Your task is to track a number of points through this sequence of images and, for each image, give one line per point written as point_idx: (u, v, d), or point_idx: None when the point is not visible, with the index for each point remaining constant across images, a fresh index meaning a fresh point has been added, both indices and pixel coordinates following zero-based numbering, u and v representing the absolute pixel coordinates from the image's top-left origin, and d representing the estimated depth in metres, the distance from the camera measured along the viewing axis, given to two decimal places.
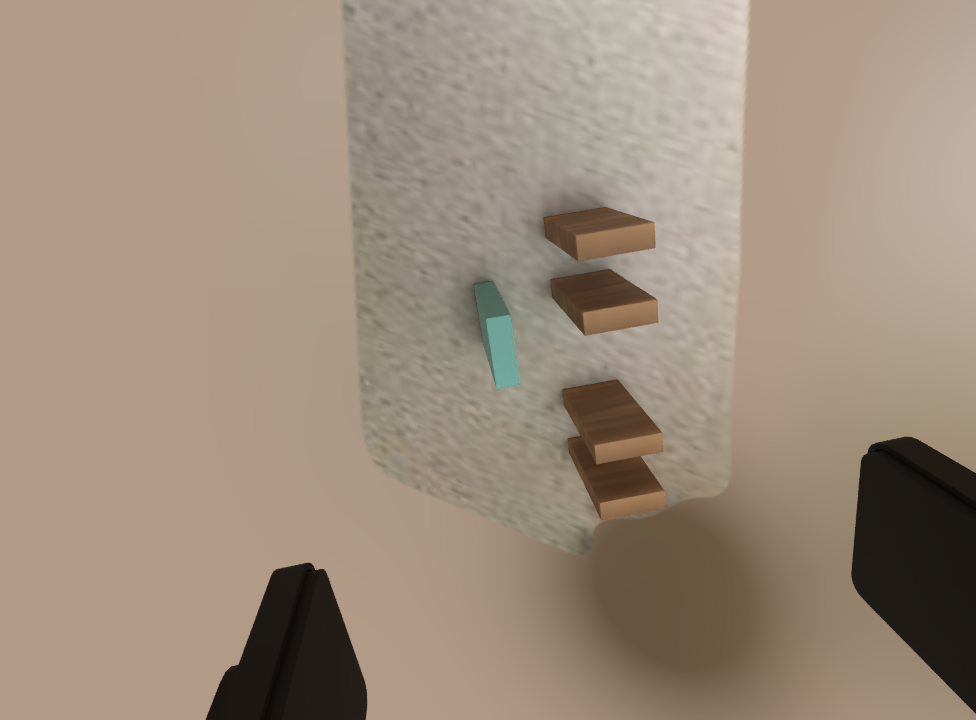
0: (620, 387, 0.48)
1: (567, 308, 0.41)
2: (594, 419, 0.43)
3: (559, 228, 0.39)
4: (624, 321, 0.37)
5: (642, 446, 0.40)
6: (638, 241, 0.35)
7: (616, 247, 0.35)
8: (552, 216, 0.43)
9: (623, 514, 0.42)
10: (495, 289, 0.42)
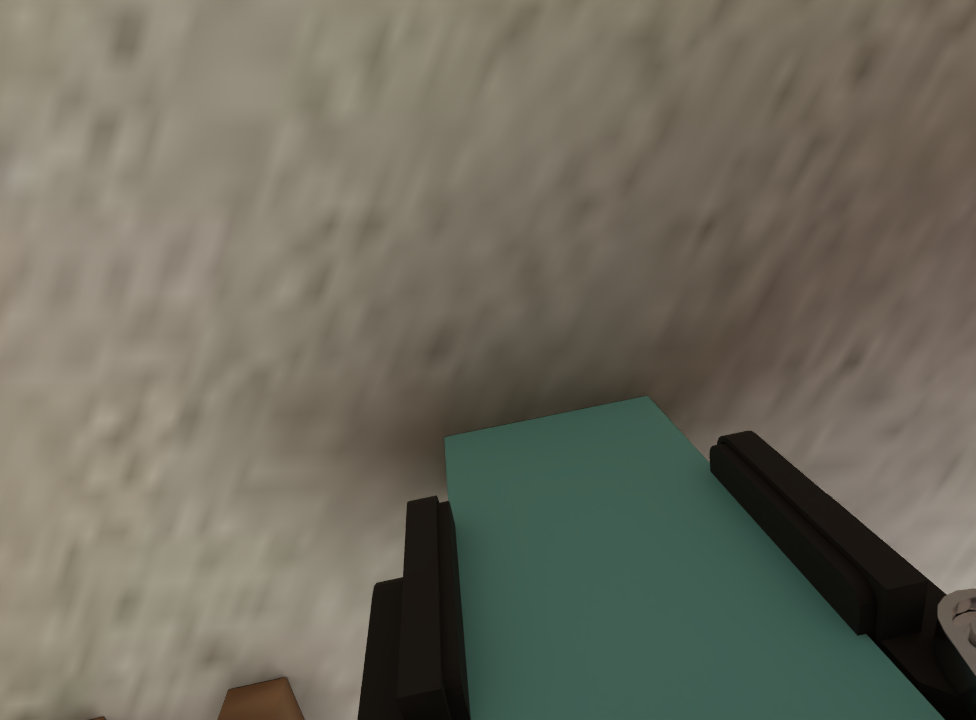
0: None
1: None
2: None
3: None
4: None
5: None
6: None
7: None
8: None
9: None
10: None
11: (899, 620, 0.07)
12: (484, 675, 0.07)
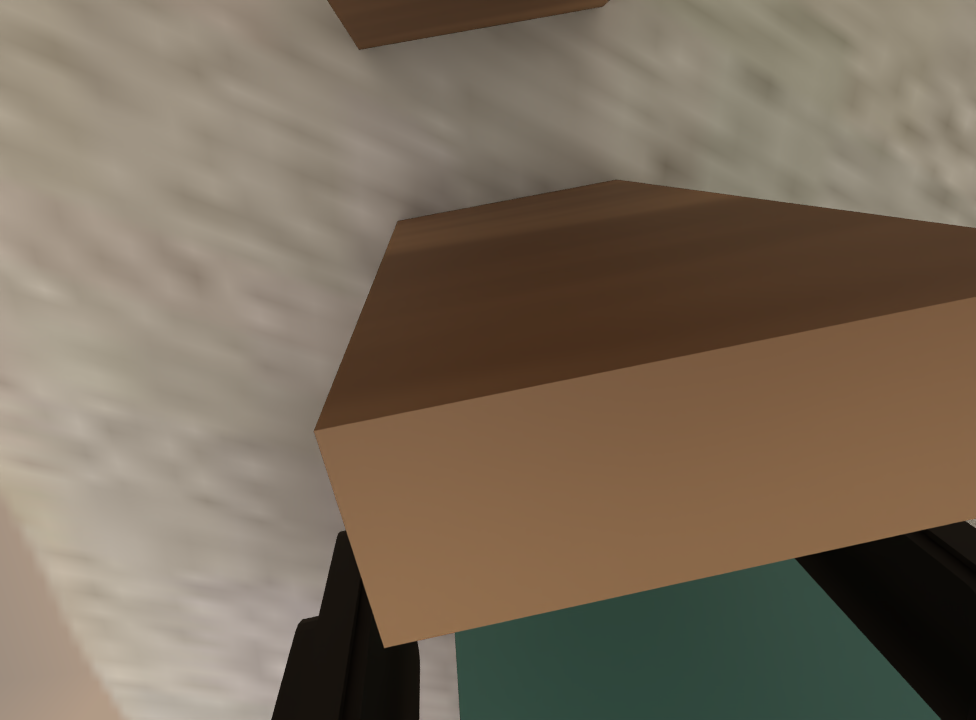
0: None
1: None
2: None
3: None
4: None
5: (601, 493, 0.03)
6: None
7: None
8: None
9: None
10: None
11: None
12: None
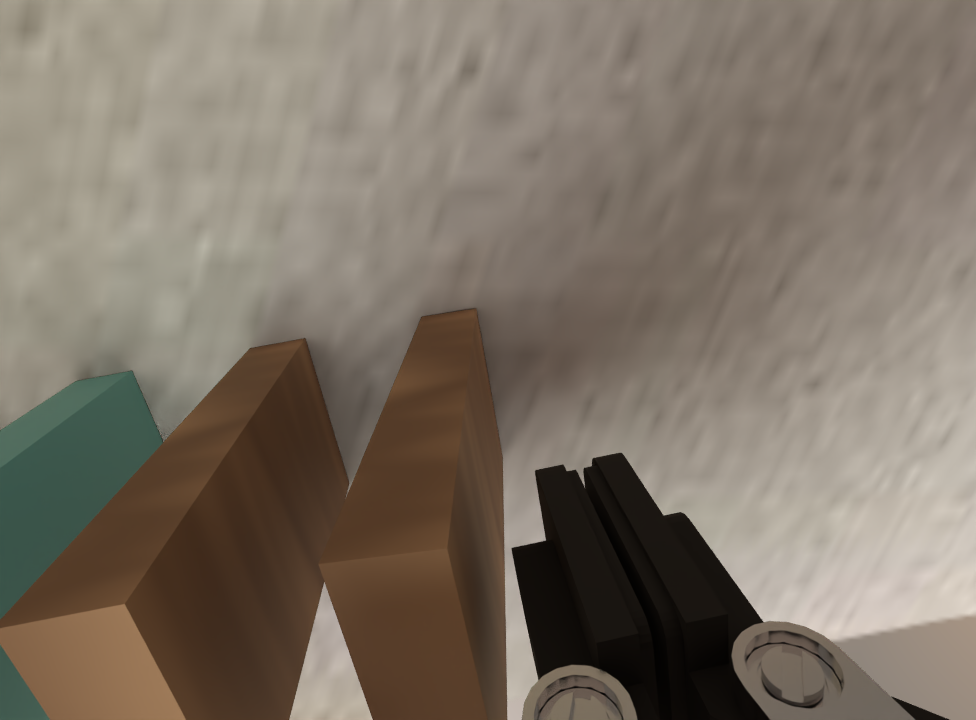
0: None
1: (195, 435, 0.11)
2: None
3: (458, 388, 0.11)
4: None
5: None
6: None
7: (399, 701, 0.08)
8: (479, 332, 0.16)
9: None
10: (63, 418, 0.13)
11: (704, 652, 0.07)
12: None
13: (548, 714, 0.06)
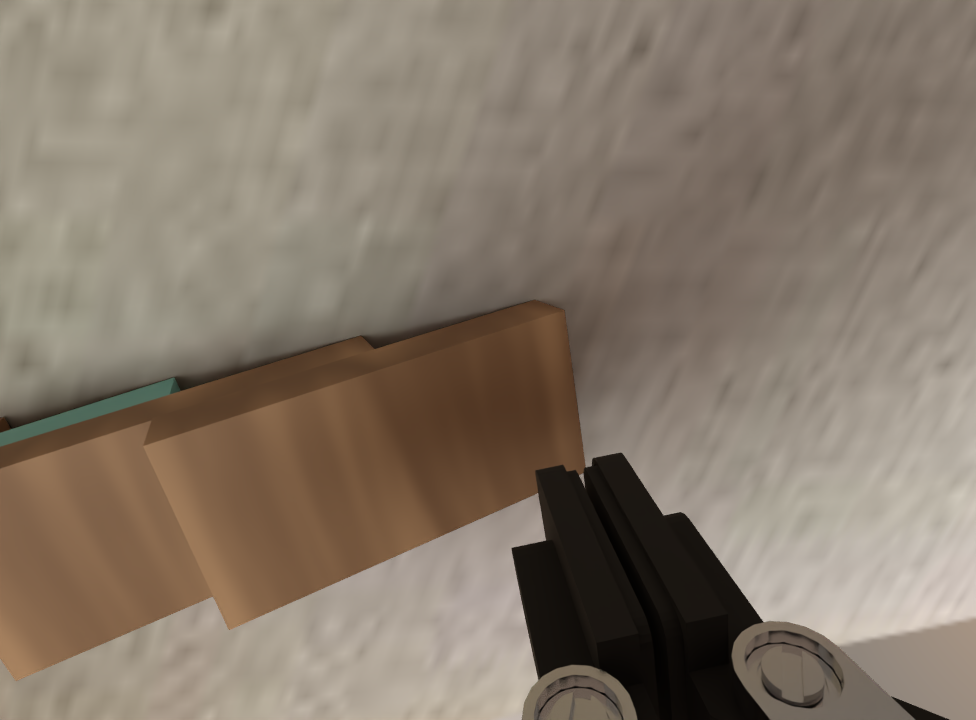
0: None
1: (148, 408, 0.13)
2: None
3: (362, 372, 0.13)
4: None
5: None
6: None
7: None
8: (560, 335, 0.15)
9: None
10: None
11: (704, 652, 0.07)
12: None
13: (548, 714, 0.06)
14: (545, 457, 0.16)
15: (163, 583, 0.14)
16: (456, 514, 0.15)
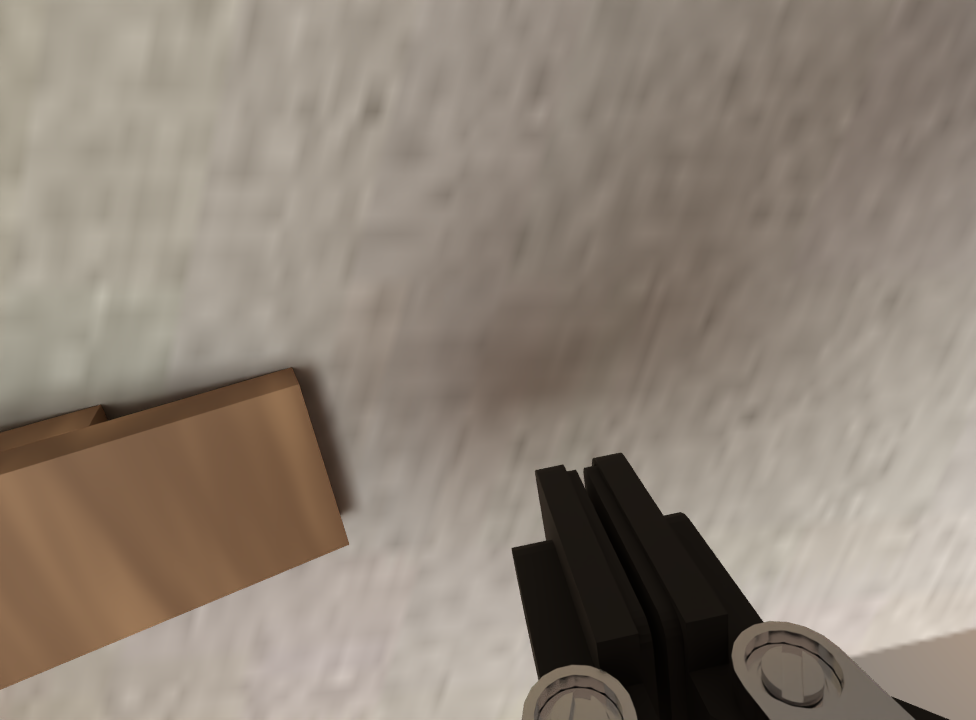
0: None
1: None
2: None
3: (49, 457, 0.12)
4: None
5: None
6: None
7: None
8: (297, 410, 0.14)
9: None
10: None
11: (704, 652, 0.07)
12: None
13: (548, 714, 0.06)
14: (295, 532, 0.15)
15: None
16: (188, 595, 0.14)
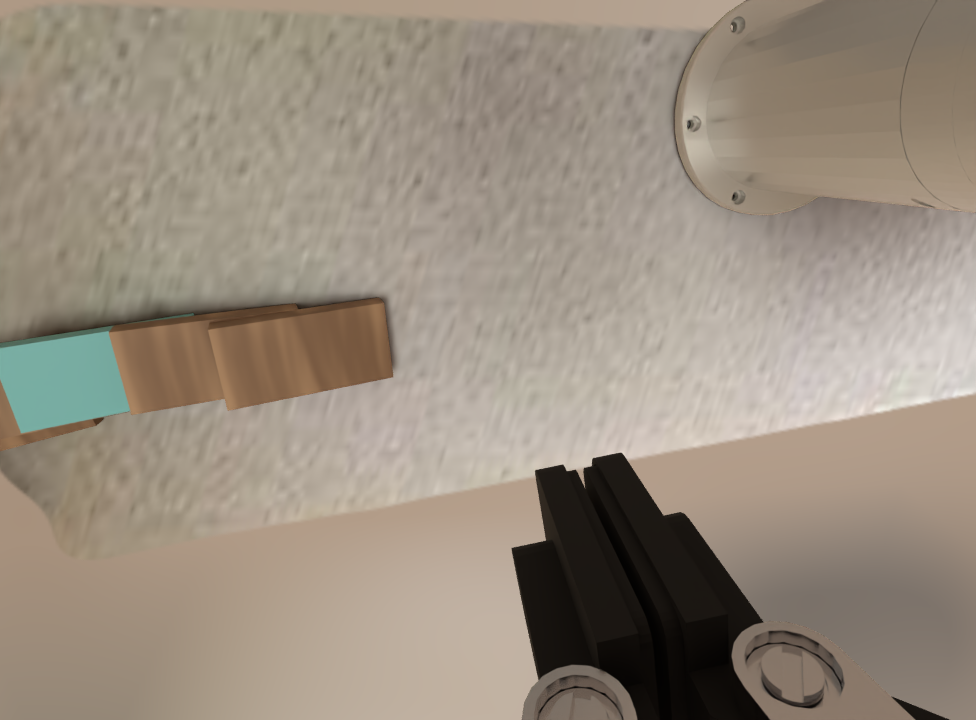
0: None
1: (201, 317, 0.33)
2: None
3: (293, 316, 0.33)
4: None
5: None
6: None
7: None
8: (381, 313, 0.35)
9: None
10: None
11: (704, 652, 0.07)
12: None
13: (547, 714, 0.06)
14: (372, 366, 0.35)
15: (194, 389, 0.33)
16: (328, 383, 0.35)
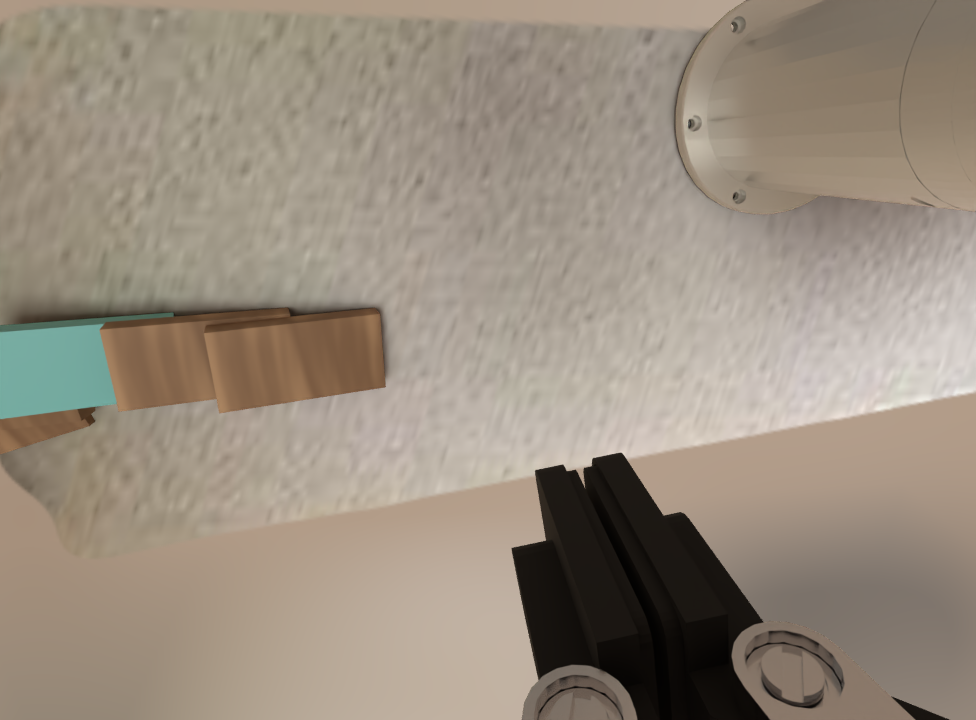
0: (53, 420, 0.34)
1: (192, 317, 0.33)
2: None
3: (289, 323, 0.33)
4: None
5: None
6: None
7: None
8: (377, 324, 0.35)
9: None
10: None
11: (704, 652, 0.07)
12: None
13: (547, 714, 0.06)
14: (365, 375, 0.36)
15: (182, 389, 0.33)
16: (321, 390, 0.35)
